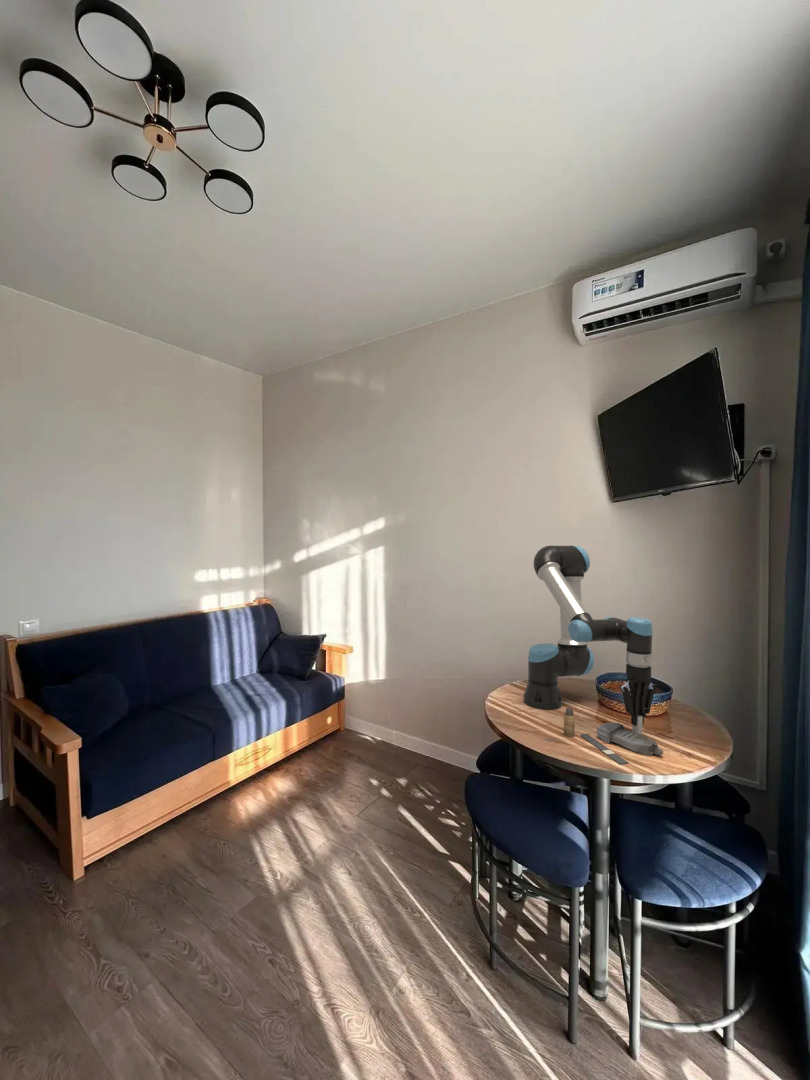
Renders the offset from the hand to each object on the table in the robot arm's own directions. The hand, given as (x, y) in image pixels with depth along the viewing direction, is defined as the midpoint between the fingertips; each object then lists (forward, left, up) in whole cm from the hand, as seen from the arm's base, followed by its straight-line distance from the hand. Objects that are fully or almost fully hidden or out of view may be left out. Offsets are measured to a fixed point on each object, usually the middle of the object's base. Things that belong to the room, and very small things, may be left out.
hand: (637, 734), depth 150 cm
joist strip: (+3, -15, -2) cm, 16 cm away
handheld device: (+3, -5, -3) cm, 6 cm away
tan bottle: (-8, -20, -2) cm, 22 cm away
